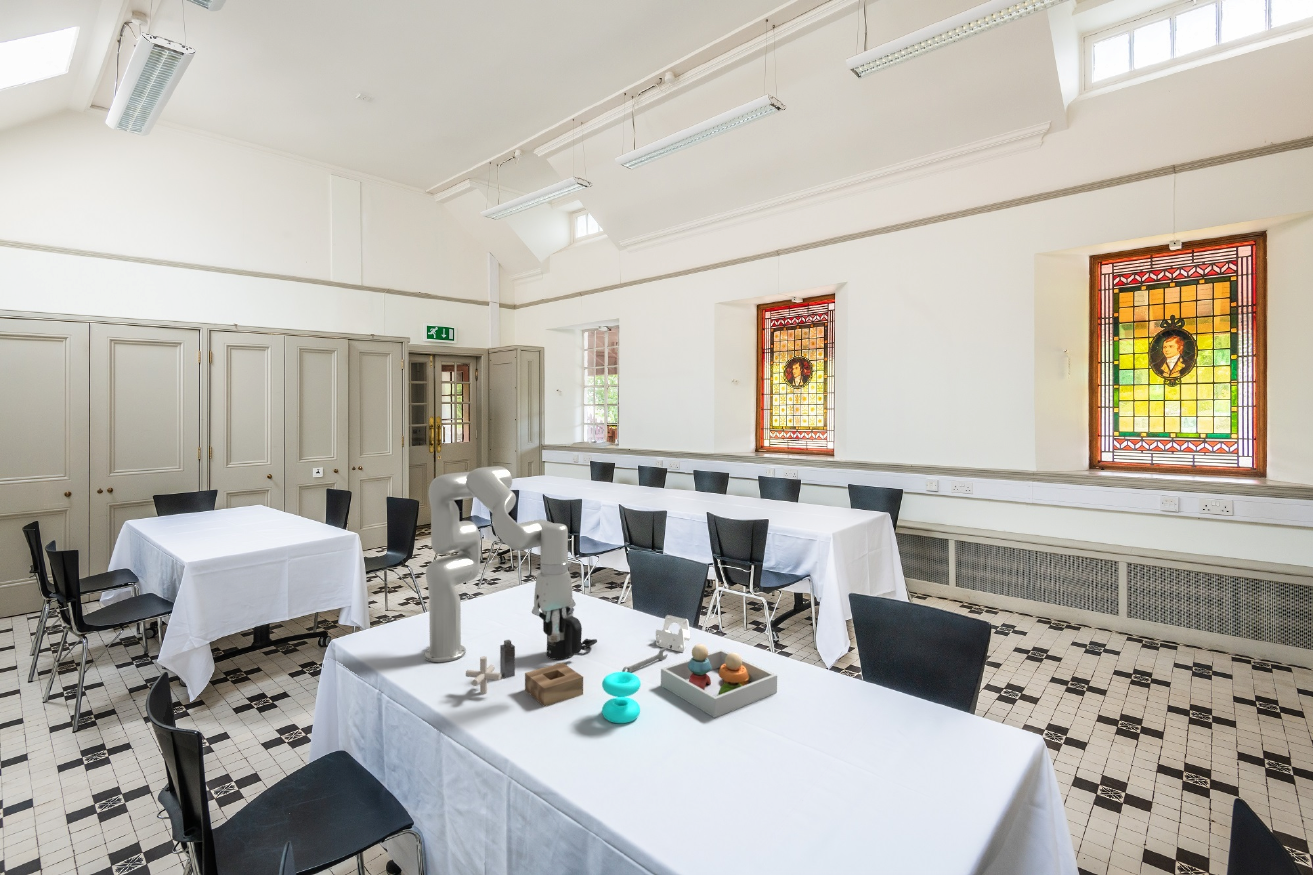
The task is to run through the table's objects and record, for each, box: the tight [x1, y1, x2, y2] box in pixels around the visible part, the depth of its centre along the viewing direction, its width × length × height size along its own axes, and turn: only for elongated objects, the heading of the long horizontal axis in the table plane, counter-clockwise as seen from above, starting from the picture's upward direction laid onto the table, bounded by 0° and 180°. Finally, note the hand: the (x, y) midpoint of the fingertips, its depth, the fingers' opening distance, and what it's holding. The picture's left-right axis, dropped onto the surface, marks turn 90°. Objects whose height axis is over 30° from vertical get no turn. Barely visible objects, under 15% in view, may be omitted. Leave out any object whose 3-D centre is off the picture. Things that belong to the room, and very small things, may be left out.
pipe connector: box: [465, 656, 502, 695], centre depth 170 cm, size 10×10×10 cm
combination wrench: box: [621, 647, 668, 673], centre depth 188 cm, size 4×1×20 cm
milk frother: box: [545, 607, 598, 660], centre depth 199 cm, size 14×16×15 cm
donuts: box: [601, 671, 641, 724], centre depth 158 cm, size 10×10×10 cm
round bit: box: [548, 609, 560, 642], centre depth 170 cm, size 3×3×10 cm
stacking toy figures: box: [687, 643, 750, 695], centre depth 175 cm, size 18×17×12 cm
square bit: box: [499, 639, 516, 679], centre depth 181 cm, size 3×3×10 cm
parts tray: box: [660, 649, 778, 719], centre depth 174 cm, size 23×24×5 cm
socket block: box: [524, 662, 584, 707], centre depth 170 cm, size 12×12×5 cm
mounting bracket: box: [655, 614, 691, 653], centre depth 206 cm, size 12×6×11 cm, turn 57°
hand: (554, 632), depth 170 cm, fingers closed on round bit, 3 cm apart
